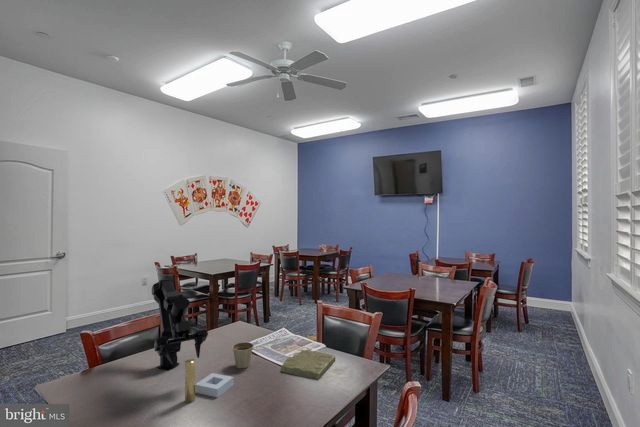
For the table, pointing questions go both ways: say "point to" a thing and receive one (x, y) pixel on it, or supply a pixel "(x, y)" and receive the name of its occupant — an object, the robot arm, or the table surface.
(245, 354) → the flower pot
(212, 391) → the socket block
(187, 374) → the pin
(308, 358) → the decorative tile
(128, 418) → the table surface
